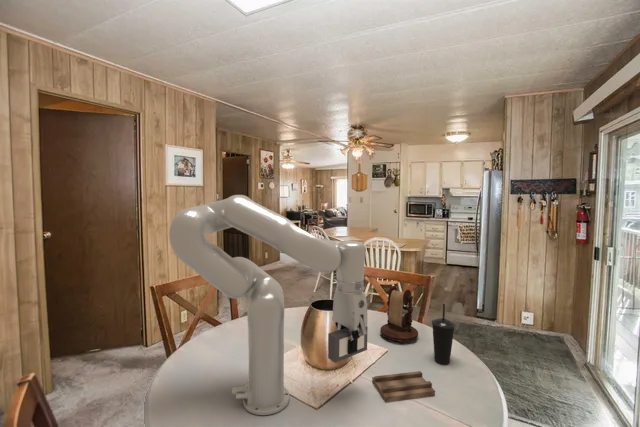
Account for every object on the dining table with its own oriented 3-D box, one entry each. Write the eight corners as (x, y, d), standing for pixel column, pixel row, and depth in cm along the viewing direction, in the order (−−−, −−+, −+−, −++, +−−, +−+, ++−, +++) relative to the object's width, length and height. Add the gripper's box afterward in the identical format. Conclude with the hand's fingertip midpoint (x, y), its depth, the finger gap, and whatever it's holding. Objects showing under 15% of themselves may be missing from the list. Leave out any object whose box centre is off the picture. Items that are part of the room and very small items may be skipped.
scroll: (372, 336, 132) (373, 287, 131) (394, 326, 142) (395, 280, 141) (404, 349, 122) (405, 295, 120) (425, 337, 132) (426, 288, 130)
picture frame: (335, 363, 88) (335, 337, 87) (328, 358, 90) (328, 333, 90) (367, 350, 95) (367, 326, 95) (359, 345, 98) (360, 323, 97)
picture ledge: (385, 402, 90) (385, 392, 90) (372, 381, 100) (372, 373, 100) (434, 395, 93) (435, 386, 93) (417, 376, 103) (417, 368, 103)
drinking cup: (441, 369, 108) (443, 309, 107) (425, 358, 115) (427, 302, 114) (459, 364, 111) (461, 306, 109) (442, 354, 118) (444, 299, 116)
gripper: (381, 291, 87) (378, 358, 88) (341, 277, 100) (339, 336, 101) (360, 295, 83) (358, 366, 84) (321, 280, 96) (319, 342, 97)
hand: (347, 349), depth 93 cm, fingers closed on picture frame, 3 cm apart
